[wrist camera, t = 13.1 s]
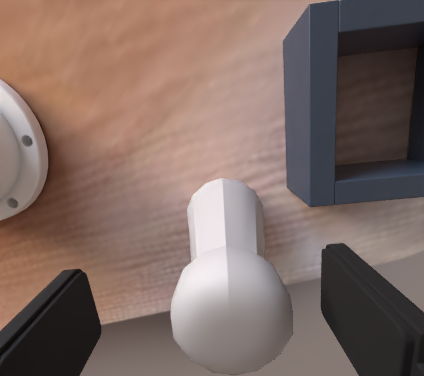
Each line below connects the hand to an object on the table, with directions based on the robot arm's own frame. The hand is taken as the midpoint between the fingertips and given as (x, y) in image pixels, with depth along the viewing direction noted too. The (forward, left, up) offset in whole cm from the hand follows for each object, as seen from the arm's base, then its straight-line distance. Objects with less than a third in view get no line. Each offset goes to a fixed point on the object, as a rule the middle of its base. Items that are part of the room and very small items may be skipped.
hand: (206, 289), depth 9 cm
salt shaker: (+1, 0, -11) cm, 11 cm away
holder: (+12, +6, -11) cm, 17 cm away
